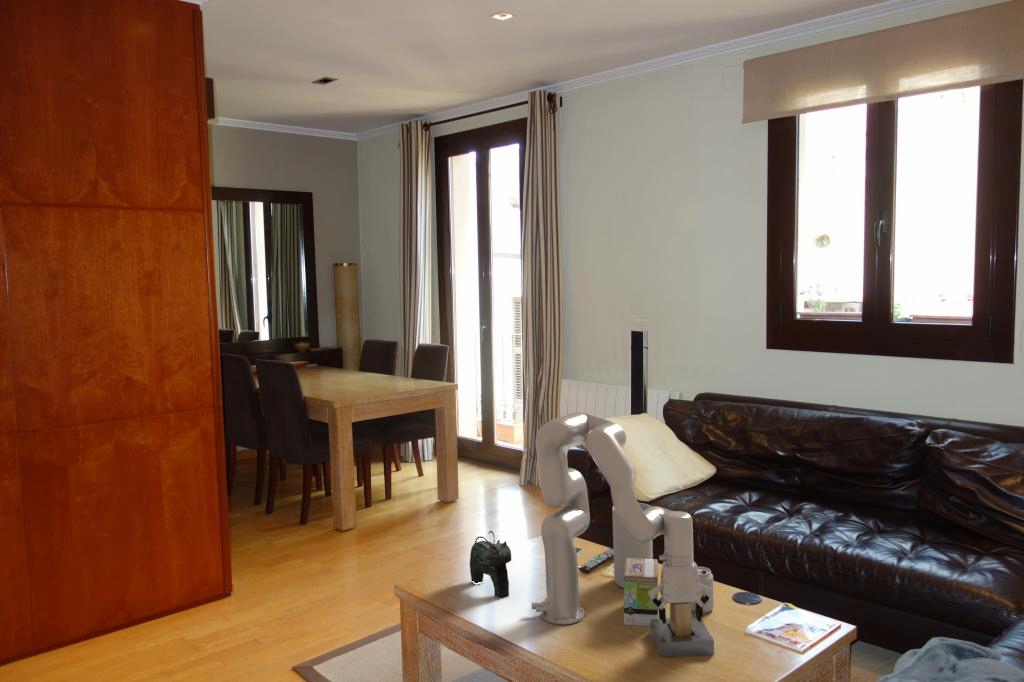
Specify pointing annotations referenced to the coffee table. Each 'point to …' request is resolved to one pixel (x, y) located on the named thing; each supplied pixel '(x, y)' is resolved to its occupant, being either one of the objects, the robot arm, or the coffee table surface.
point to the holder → (681, 639)
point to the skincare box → (680, 619)
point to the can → (706, 580)
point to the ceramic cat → (491, 564)
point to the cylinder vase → (627, 547)
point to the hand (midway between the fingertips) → (680, 620)
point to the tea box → (640, 591)
